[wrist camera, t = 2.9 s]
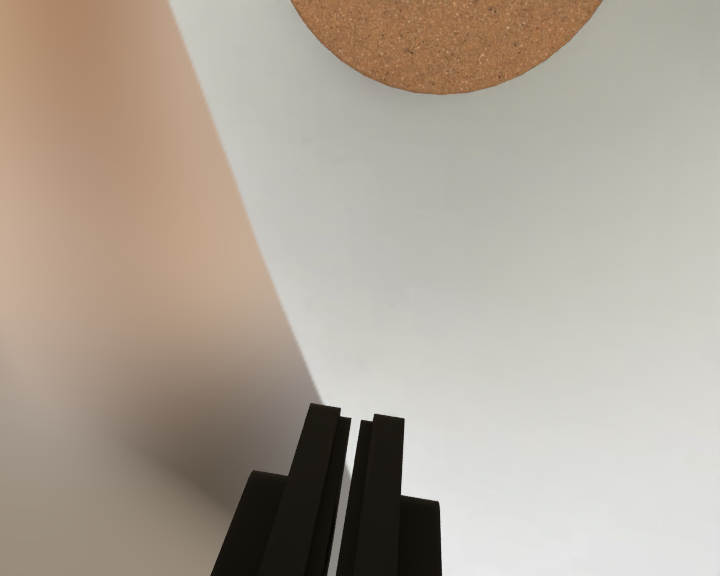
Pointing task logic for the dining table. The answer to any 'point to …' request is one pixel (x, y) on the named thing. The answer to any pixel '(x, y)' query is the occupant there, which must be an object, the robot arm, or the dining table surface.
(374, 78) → the trinket box
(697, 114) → the dining table surface
